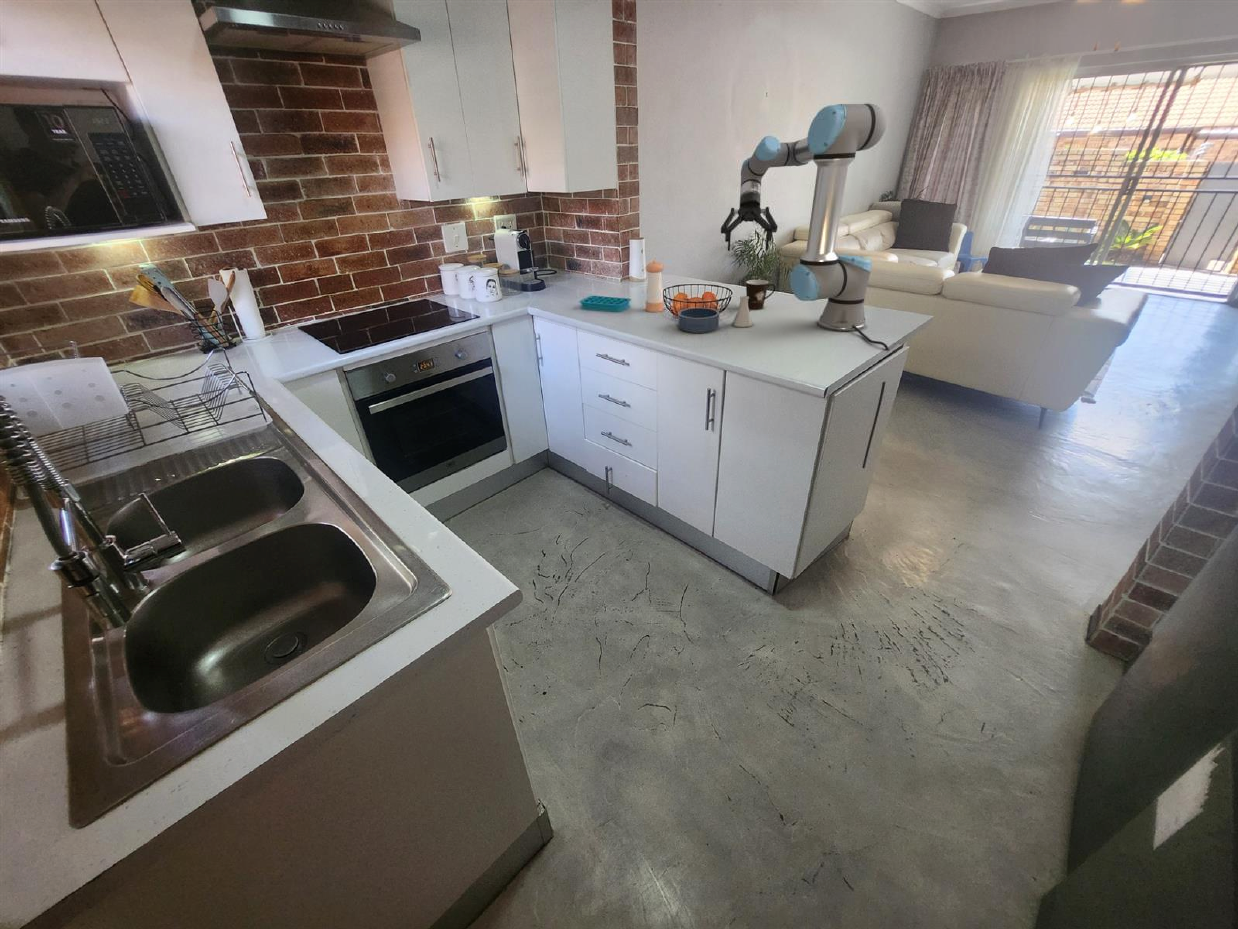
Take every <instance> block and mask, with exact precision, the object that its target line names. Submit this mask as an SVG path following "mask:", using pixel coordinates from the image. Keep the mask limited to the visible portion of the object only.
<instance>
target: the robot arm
mask: <svg viewBox="0 0 1238 929" xmlns="http://www.w3.org/2000/svg"><path fill="white" fill-rule="evenodd" d="M886 128H887V116H886V114H885V111H884V110H883V109H882V108H881V107H880V106H879V105H878V104H874V103H837V104H830V105H826V106H824V107H823V108H821V109H820V110H819V111H818V112H817V114H816V115H815V116H814V117H813V119H812V121H811V123H810V125H809V128H808V132H807V136H806V137H804V138H802V139H798V140H796V141H791V142H790V141H789V142H781V141H780V140H779V139H778V138H777V137H775V136H773V135H767V136H764V137H763V138H762V139H761V140H760V142H759V143H758V144H757V146H756V147H755V150H754V152H753V154H752V155H751V156H750V157H748V158H746V159H745V160H744V161H742V164H741V169H740V191H739V206H738V207H739V208H738V209H735V208H734V207H731V209H730V213H729V214H728V216H727V217H726V218H725V220H724V222H723V224H722V225H721V227H720V234H722V235H723V234H724V237H725V238H724V242H726V243H727V251H728V252H730V251H731V238H732V237H731V236H732V232H733V231H734V230H735V229H736V228H737V227H738V226H739V225H740V224H742V223H743V222H745V223H747V222H751V223H753V222H755V223H756V224H758V225H759V226H760V227H761V228H762V229H763V230H764V231H765V232H766V233H765V251H769V246H770V242H771V241H772V240H773V233H777V232H778V227H779V226H778V224H777V222H776V221H775V219H774V217H773V215H772V214H771V212H770V207H769V206H766V207H765V208H761V199H762V198H761V195H762V179H763V177H764V176H765V174H766V173H767V172H768V170H769V169H770V168H783V167H801V166H806V165H808V164H809V163H810V162H813V163H814V164H815V166H816V168H817V169H816V176H815V184H814V191H813V199H812V206H811V212H810V219H809V220H810V221H809V228H808V234H807V235H808V236H807V243H806V250H805V252H804V253H803V254H802V255H801V256H800V259H799V264H797V265H795V266H794V267H793V269H792V270H791V273H790V277H789V284H790V289H791V291H792V293H793V295H794V297H795V298H796V299H797V300H799V301H802V302H815V301H819V300H826V299H827V303H826V305H825V307H824V309H823V312H822V313H821V315H820V316H819V319H818V326H819V327H821V328H823V329H826V330H831V331H838V332H854V331H856V332H857V333H858V334H860V335H861V336H862V337H863V338H864V339H865V340H866V341H867V342H869V343H871V344H877V345H881V346H883V347H884V348H885V350H886V351H888V352H889V351H890V349H889V346H888V345H887V343H885V342H883V341H879V340H872V339H871V338H869V337H868V336H867V335H866V334H865V333H864V332H862V329H864V328H865V326H866V318H865V317H866V316H865V306H864V304H865V298H866V293H867V288H868V284H869V279H870V275H871V272H872V271H871V268H872V261H871V259H870V258H868V257H863V256H859V255H850V254H836V252H835V250H836V244H837V237H838V233H839V232H838V231H839V226H840V219H841V213H842V207H843V205H842V204H843V200H844V196H845V194H844V193H845V187H846V182H847V174H848V169H849V166H850V164H851V163H852V162H853V161H854V160H855V159H856V153H857V152H861V151H866V150H869V149H871V148H873V147H874V146H876V145H877V144H878V143H880V141H881V140H882V138H883V136H884V134H885V132H886ZM736 215H737V217H736ZM762 215H763V216H762ZM735 217H736V218H735ZM764 217H765V218H764ZM734 218H735V219H734ZM732 220H733V222H732ZM881 383H882V384H881V389H880V395H879V397H878V398H879V399H878V403H877V408H876V410H875V415H874V418H873V419H874V420H873V423H872V427H871V431H870V433H869V434H870V435H869V437H868V438H869V439H868V443H867V447H866V450H865V454H864V459H863V463H862V466H861V468H862V469H865V468H866V465H867V464H866V463H867V460H868V456H869V452H870V448H871V444H872V440H873V436H874V433H875V428H876V425H877V422H878V418H879V414H880V410H881V405H882V401H883V397H884V392H885V387H886V381H883V382H881Z"/></svg>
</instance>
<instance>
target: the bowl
mask: <svg viewBox="0 0 1238 929" xmlns="http://www.w3.org/2000/svg"><path fill="white" fill-rule="evenodd" d="M720 314H721V313H720V311H719V310H717V309H715V308H710V307H689V308H684V309H681V310H680V311H678V313H677V327H678V329H679V330H681V331H683V332H686V333H690V334H705V333H710V332H713V331H715V330H717V329H719V327H720V326H719V325H720Z"/></svg>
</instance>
